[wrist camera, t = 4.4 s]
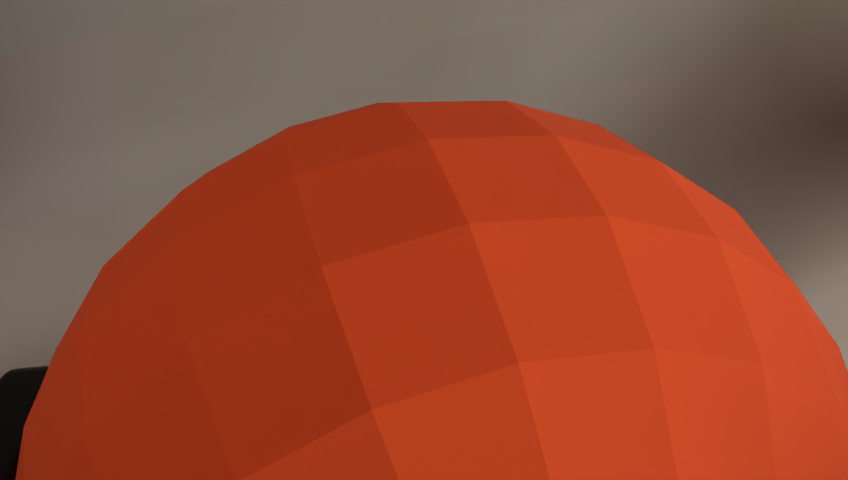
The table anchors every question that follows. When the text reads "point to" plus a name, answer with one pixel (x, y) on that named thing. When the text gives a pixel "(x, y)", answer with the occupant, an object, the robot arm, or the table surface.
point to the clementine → (442, 319)
